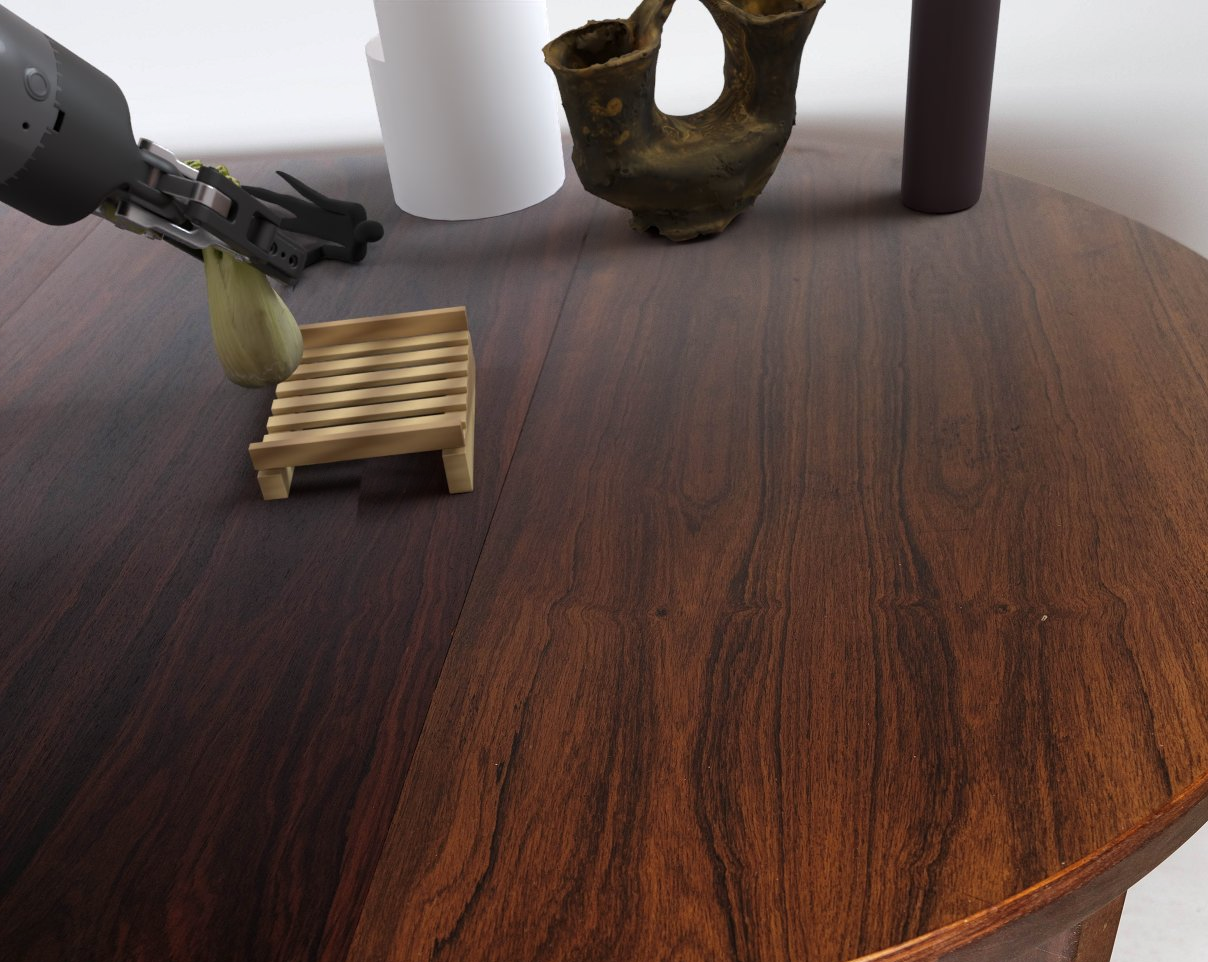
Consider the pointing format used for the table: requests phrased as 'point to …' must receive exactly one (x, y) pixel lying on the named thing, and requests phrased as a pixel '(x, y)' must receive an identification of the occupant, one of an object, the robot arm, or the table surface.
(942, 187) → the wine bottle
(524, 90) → the cylinder
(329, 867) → the table surface
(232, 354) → the fennel bulb
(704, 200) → the pottery vessel
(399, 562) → the table surface
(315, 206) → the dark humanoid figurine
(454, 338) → the drying rack
